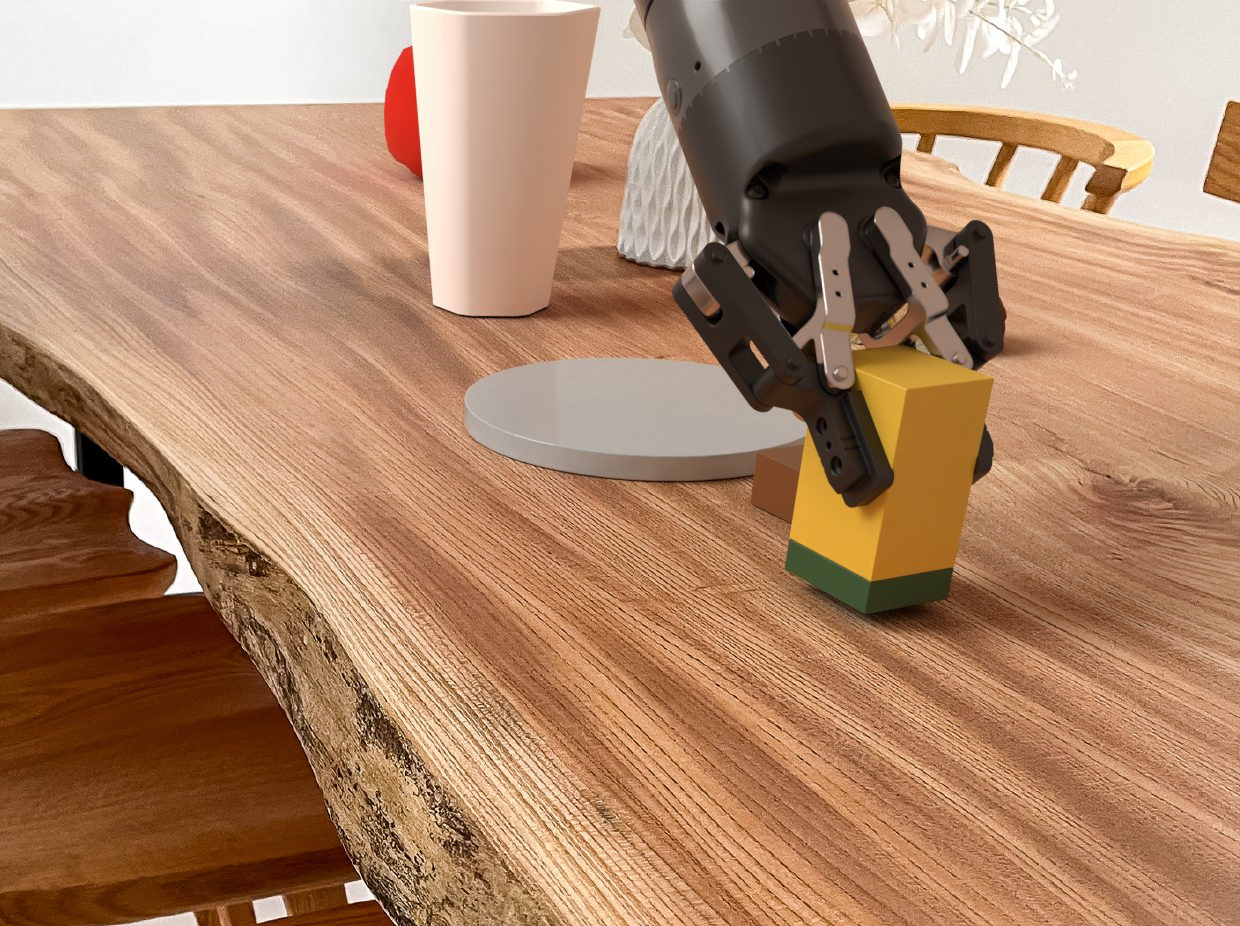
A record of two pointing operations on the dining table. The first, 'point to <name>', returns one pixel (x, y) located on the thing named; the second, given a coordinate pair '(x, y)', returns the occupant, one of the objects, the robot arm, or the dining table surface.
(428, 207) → the cup
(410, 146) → the tomato
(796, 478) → the brown block
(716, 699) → the dining table surface
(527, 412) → the plate
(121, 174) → the dining table surface
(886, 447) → the sponge
